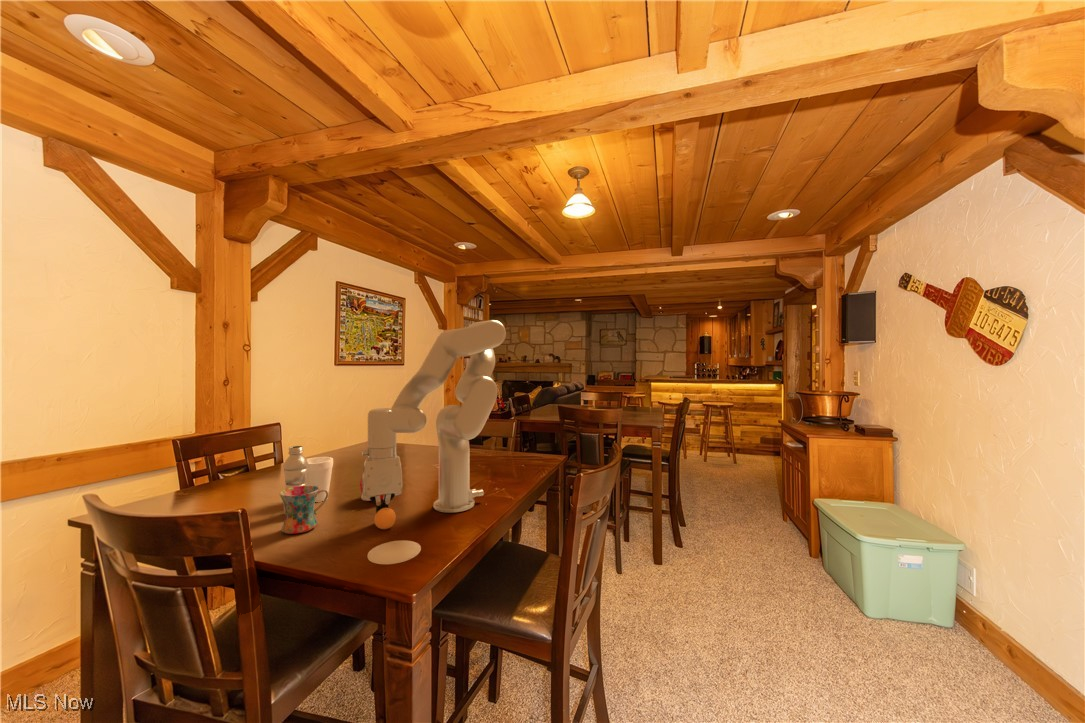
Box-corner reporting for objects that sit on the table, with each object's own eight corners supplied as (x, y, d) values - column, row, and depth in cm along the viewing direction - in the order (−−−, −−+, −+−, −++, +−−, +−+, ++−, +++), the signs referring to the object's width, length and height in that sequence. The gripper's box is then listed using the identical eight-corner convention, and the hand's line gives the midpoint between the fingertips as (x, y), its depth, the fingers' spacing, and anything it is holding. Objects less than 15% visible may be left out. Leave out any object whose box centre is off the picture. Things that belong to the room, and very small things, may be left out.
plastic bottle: (285, 520, 118) (285, 450, 118) (281, 513, 124) (281, 446, 124) (310, 515, 123) (310, 447, 123) (306, 508, 128) (306, 444, 128)
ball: (392, 504, 117) (395, 506, 112) (395, 524, 116) (399, 526, 111) (371, 510, 114) (374, 512, 109) (374, 530, 113) (377, 533, 109)
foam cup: (337, 499, 136) (337, 460, 136) (307, 506, 129) (307, 465, 129) (326, 493, 143) (326, 455, 143) (296, 500, 136) (296, 460, 136)
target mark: (411, 537, 107) (411, 536, 107) (428, 554, 97) (428, 553, 97) (361, 549, 100) (361, 548, 100) (374, 569, 90) (374, 568, 90)
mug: (287, 540, 106) (287, 498, 106) (274, 530, 111) (274, 491, 111) (335, 525, 115) (335, 487, 115) (320, 517, 121) (320, 481, 121)
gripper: (355, 458, 109) (355, 528, 109) (412, 451, 117) (412, 516, 117) (350, 453, 115) (350, 519, 115) (405, 447, 124) (405, 508, 124)
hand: (382, 517), depth 116 cm, fingers closed
